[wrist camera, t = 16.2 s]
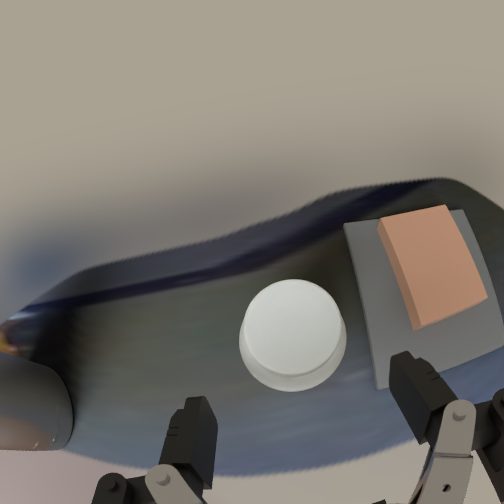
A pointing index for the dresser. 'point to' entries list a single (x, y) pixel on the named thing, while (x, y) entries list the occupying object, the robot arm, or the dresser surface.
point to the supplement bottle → (292, 335)
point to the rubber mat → (396, 316)
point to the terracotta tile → (431, 264)
